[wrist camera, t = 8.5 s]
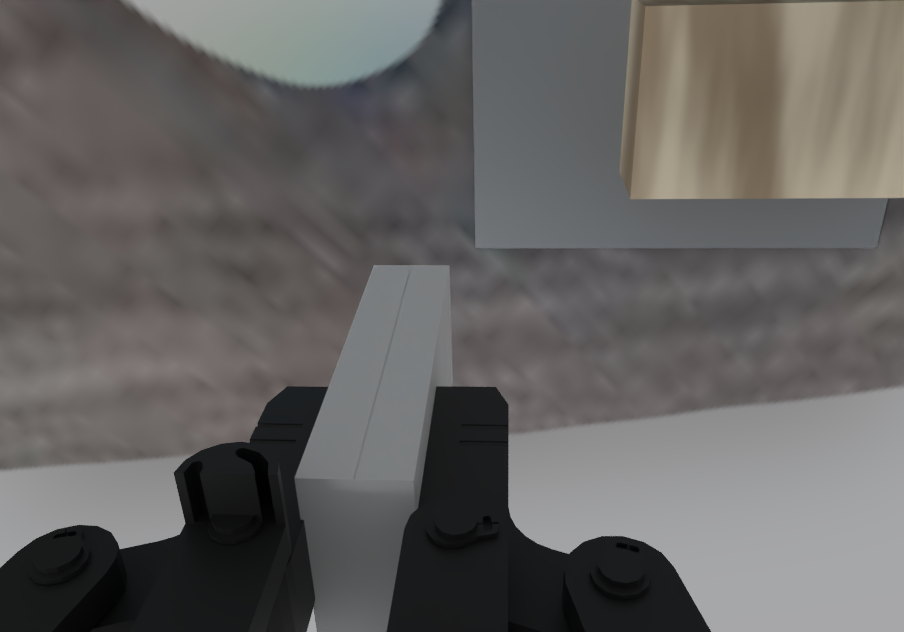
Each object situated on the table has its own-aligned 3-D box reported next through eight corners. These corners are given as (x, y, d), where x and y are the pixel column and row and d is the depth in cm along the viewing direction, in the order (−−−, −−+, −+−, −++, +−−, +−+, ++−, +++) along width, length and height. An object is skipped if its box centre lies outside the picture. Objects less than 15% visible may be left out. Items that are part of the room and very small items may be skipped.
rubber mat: (475, 244, 41) (475, 248, 41) (470, -102, 34) (469, -102, 34) (872, 244, 40) (876, 248, 39) (956, -118, 33) (962, -118, 32)
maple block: (630, 199, 35) (912, 197, 34) (645, 6, 31) (961, -1, 30) (619, 172, 39) (874, 170, 38) (631, -5, 35) (915, -11, 34)
